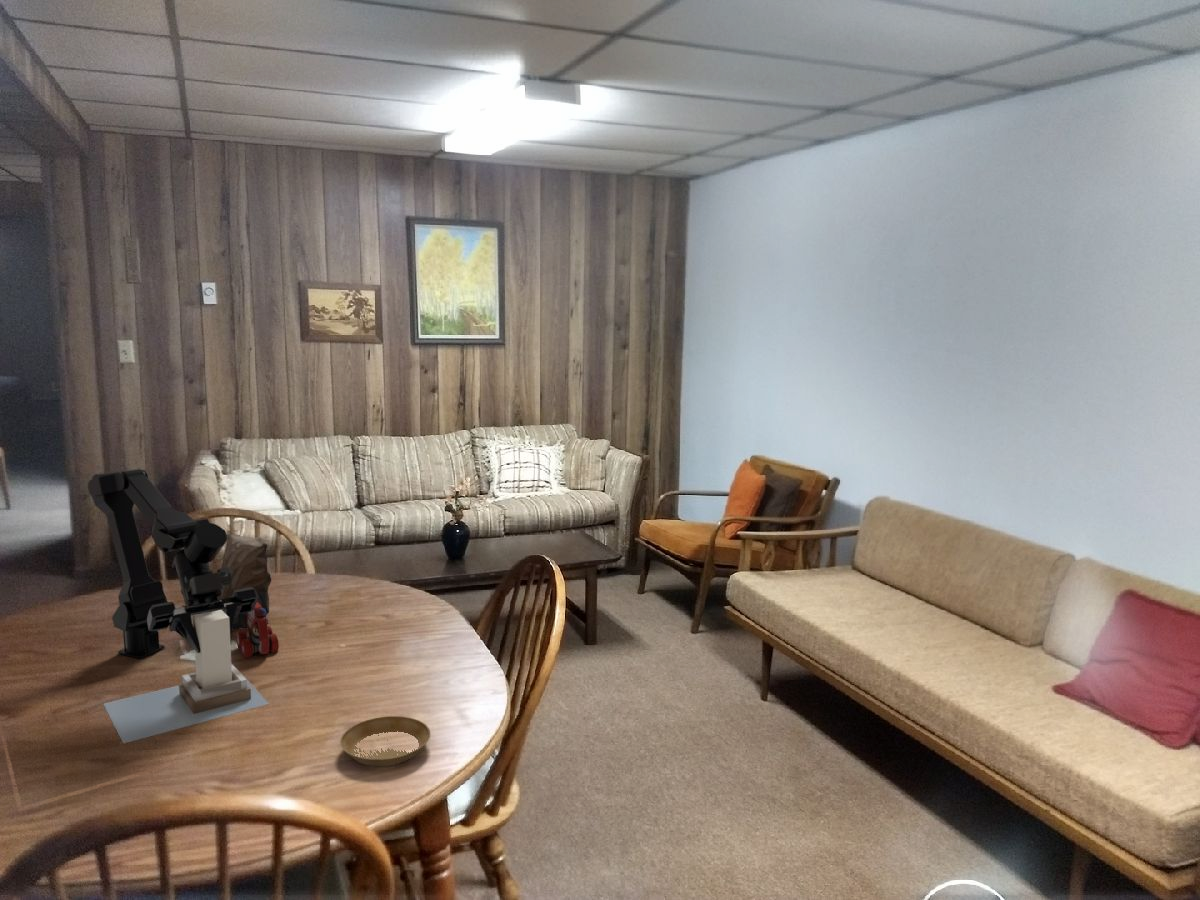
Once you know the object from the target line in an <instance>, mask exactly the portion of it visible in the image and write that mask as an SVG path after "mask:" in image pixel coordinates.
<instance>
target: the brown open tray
mask: <svg viewBox="0 0 1200 900" xmlns="http://www.w3.org/2000/svg"><path fill="white" fill-rule="evenodd" d="M231 667H232V681H230V682H226V683H222V684H218V685H214V686H210V687H206V688H202V687H201V686H200V685H199V684H198V682H197V681H196V671H195V672H191V673H186V674H182V675H181V680H182V682H181V683H179V684H178V685H179V694H180V695H181V697H182V698H183V700H184V701H185V702H186V704H187V705H188V707H189V708H190V709H191V711H192V712H193V714H196V713H200V712H203V711H207V710H211V709H215V708H219V707H222V706H226V705H230V704H234V703H238V702H241V701H245V700H249V699H251V689H250V688H249V687H248V685H247V680H248V679H247V678H246V677H245V676H244V675H243V673H242V672H241V671H240V670H238V668H237V667H235V665H234V664H233V663H231ZM239 671H240V672H241V673H240V672H239ZM246 679H247V680H246Z"/></svg>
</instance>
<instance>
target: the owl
mask: <svg viewBox="0 0 1200 900" xmlns="http://www.w3.org/2000/svg"><path fill="white" fill-rule="evenodd" d="M268 545H269V544H267V543H265V542H264V540H263V538H262V537H250V536H249V537H248V536H247V537H246V536H245V537H244V536H241V535H239V534H232V533H230V534H228V535H227V544H226V546H225V549H224V554H223V556H222V558H223V559H222V563H221V568H225V567H229V568H230V571H231V575H232V583H231V584H228V585H223V589H221V592H222V593H221V596H218V599H219V600H220V599H226V598H231V597H232V594H233V592H234V590H239V589H244V588H250V587H252V588H254V589H255V590H256V591H257V594H258V597H259V598H258V601H257V602H258V603H259V604H260V606H261V607H262V608H264V609H265V610H266V615H265V616H264V617H265V618H266V620H267V625H268V624H269V623H268V622H269V620H268V618H267V616H268V614H269V613H270V595H269V588H270V585H271V584H272V583H271V582H272V577H271V574H270V573H269V571H268V557H269V556H268V553H267V549H268V547H269V546H268ZM239 628H245V629H247V613H242V614H239V615H238V617H237V618H235V619H234V621H233V630H232V631H235V630H234V629H236V630H240V629H239Z"/></svg>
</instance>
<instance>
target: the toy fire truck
mask: <svg viewBox="0 0 1200 900" xmlns="http://www.w3.org/2000/svg"><path fill="white" fill-rule="evenodd" d="M265 615H266V610H265V609H264V608H262V607H261V606H260V604H259V603H258V602H257V603H256V605H255V608H254V610H253V611H251V612H247V628H246V629H247V630H246V631H247V632H246V631H245V630H237V632H236V633H235V635H236V636H235V641H236V647H237V649H238V651H239V650H241V654H242V656H243V658H244V659H248V658H252V657H253V654H256V653H259V654H261V655H266V654H269V652H270V653H271V654H272V653H276V652H277V653H278V651H279V647H280V644H279V638H278V636H277V634H276V633H273V628H272V627H271V626H269V625H268V624H267V620H268V619H267V620H266V618H267V617H266V618H265V617H264V616H265ZM266 616H267V615H266Z"/></svg>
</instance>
